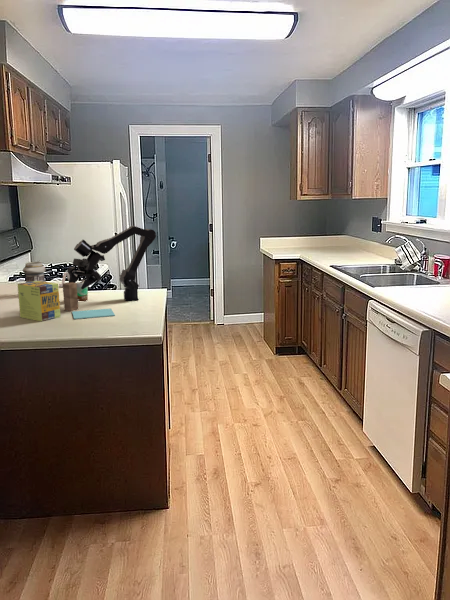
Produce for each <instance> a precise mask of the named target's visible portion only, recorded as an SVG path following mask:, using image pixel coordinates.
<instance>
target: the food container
mask: <svg viewBox="0 0 450 600" xmlns="http://www.w3.org/2000/svg"><path fill="white" fill-rule="evenodd" d="M84 281H85V279H81V281H79V282H77V281H76V283H77V297H78V301H84V302H87V301H88V300H89V299H88V293H89V292H88V290H89V286H88V287H86V288H84V289H81V287H82V285H83V283H84ZM86 300H87V301H86Z"/></svg>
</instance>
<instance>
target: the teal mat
mask: <svg viewBox="0 0 450 600" xmlns="http://www.w3.org/2000/svg"><path fill="white" fill-rule="evenodd" d="M71 313H72V316H73V320H84V319H94V318H107V317H115V316H116V314H115V313H114V311H113V310H112V308H100V309H87V310H75V311H71Z"/></svg>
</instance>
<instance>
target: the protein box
mask: <svg viewBox="0 0 450 600" xmlns="http://www.w3.org/2000/svg"><path fill="white" fill-rule="evenodd" d="M17 293H18V306H19V317H20V318H22V319H27V320H31V321H37V322H46V321H50V320H53V319H57V318H61V304H60V290H59V283H55V282H48V281H46V282H41V281H33V282H27V283H25V282H23V283H21V282H20V283H17Z"/></svg>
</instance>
